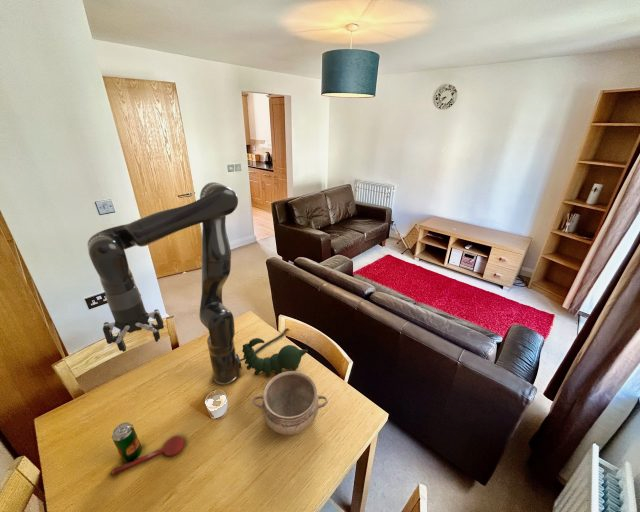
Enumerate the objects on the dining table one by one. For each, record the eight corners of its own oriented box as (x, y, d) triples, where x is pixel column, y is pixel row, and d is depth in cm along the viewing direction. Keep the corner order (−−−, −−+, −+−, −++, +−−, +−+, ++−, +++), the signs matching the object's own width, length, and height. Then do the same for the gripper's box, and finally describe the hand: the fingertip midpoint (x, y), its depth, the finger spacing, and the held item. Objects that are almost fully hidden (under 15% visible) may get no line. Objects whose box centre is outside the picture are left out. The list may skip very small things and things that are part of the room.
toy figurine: (248, 386, 107) (311, 374, 110) (239, 350, 98) (307, 338, 102) (249, 367, 115) (308, 356, 118) (241, 333, 107) (304, 322, 110)
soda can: (133, 465, 80) (121, 440, 74) (118, 461, 80) (106, 436, 75) (146, 447, 84) (136, 423, 79) (132, 443, 85) (121, 419, 80)
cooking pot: (248, 445, 85) (245, 421, 80) (259, 392, 103) (257, 369, 97) (328, 445, 86) (329, 420, 81) (325, 392, 103) (327, 369, 98)
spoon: (183, 434, 88) (182, 431, 87) (184, 450, 84) (184, 448, 83) (113, 464, 80) (112, 462, 79) (111, 484, 75) (110, 482, 75)
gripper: (91, 316, 70) (112, 362, 77) (154, 301, 77) (167, 344, 84) (96, 301, 76) (114, 345, 83) (154, 288, 82) (166, 329, 90)
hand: (141, 344), depth 84 cm, fingers open, 8 cm apart
